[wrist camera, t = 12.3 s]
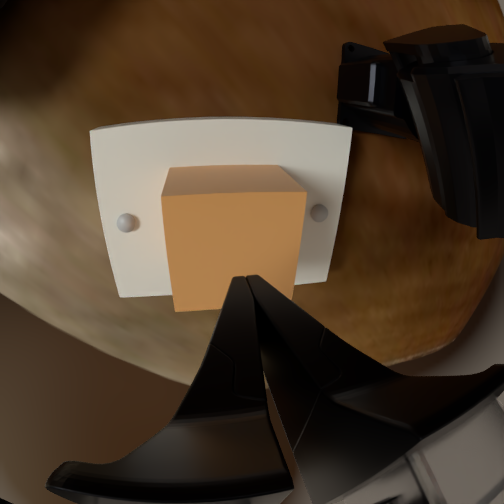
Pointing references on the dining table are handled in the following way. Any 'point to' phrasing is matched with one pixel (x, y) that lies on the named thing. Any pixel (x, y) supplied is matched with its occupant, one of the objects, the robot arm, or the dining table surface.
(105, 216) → the socket plate
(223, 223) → the plug
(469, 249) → the dining table surface
